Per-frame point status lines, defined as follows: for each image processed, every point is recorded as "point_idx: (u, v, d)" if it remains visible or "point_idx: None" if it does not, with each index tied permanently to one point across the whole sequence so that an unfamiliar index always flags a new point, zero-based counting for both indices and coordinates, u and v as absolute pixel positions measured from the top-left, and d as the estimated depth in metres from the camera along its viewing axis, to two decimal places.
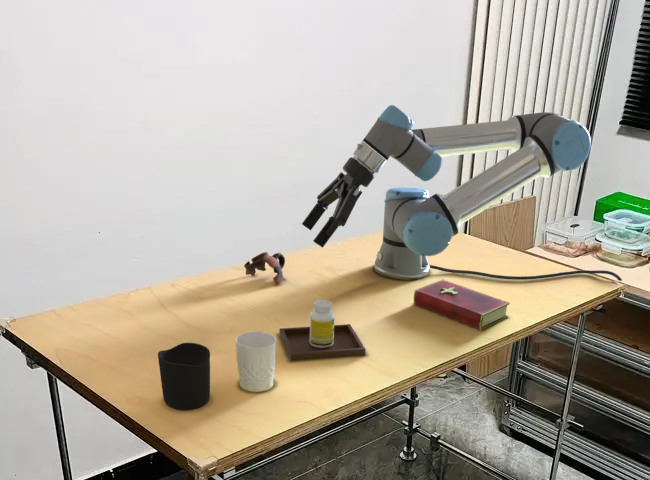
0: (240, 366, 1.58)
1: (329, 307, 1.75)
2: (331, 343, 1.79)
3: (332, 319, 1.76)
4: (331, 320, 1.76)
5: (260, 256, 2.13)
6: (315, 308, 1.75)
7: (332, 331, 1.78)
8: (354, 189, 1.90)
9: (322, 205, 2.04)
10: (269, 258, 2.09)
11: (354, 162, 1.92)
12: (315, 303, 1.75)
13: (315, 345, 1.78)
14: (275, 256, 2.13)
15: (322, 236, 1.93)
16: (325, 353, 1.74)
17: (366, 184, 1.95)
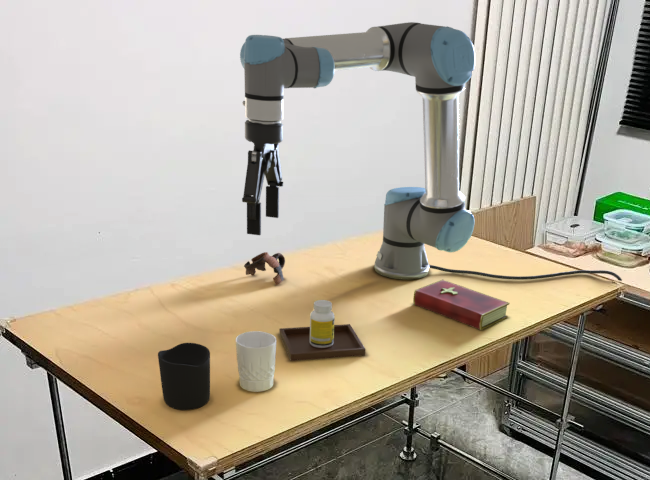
0: (240, 366, 1.58)
1: (329, 307, 1.75)
2: (331, 343, 1.79)
3: (332, 319, 1.76)
4: (331, 320, 1.76)
5: (260, 256, 2.13)
6: (315, 308, 1.75)
7: (332, 331, 1.78)
8: (249, 155, 1.57)
9: (273, 185, 1.73)
10: (269, 258, 2.09)
11: (245, 124, 1.59)
12: (315, 303, 1.75)
13: (315, 345, 1.78)
14: (275, 256, 2.13)
15: (251, 223, 1.63)
16: (325, 353, 1.74)
17: (271, 140, 1.59)
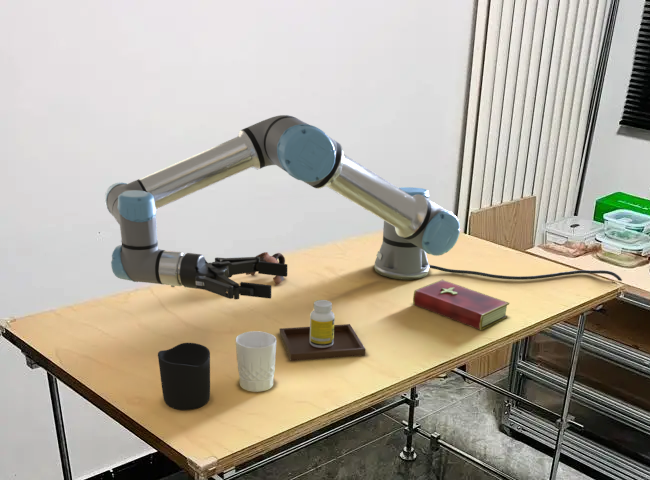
0: (240, 366, 1.58)
1: (329, 307, 1.75)
2: (331, 343, 1.79)
3: (332, 319, 1.76)
4: (331, 320, 1.76)
5: (260, 256, 2.13)
6: (315, 308, 1.75)
7: (332, 331, 1.78)
8: (198, 287, 1.70)
9: (257, 265, 1.81)
10: (269, 258, 2.09)
11: (185, 286, 1.76)
12: (315, 303, 1.75)
13: (315, 345, 1.78)
14: (275, 256, 2.13)
15: (260, 293, 1.69)
16: (325, 353, 1.74)
17: (192, 265, 1.72)
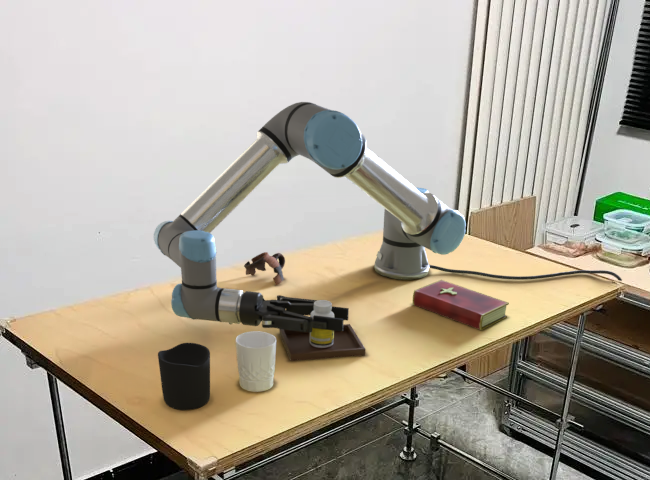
0: (240, 366, 1.58)
1: (329, 307, 1.75)
2: (331, 343, 1.79)
3: None
4: None
5: (260, 256, 2.13)
6: (315, 308, 1.75)
7: (332, 331, 1.78)
8: (266, 326, 1.73)
9: None
10: (269, 258, 2.09)
11: (243, 324, 1.78)
12: (315, 303, 1.75)
13: (315, 345, 1.78)
14: (275, 256, 2.13)
15: (332, 326, 1.74)
16: (325, 353, 1.74)
17: (252, 304, 1.75)
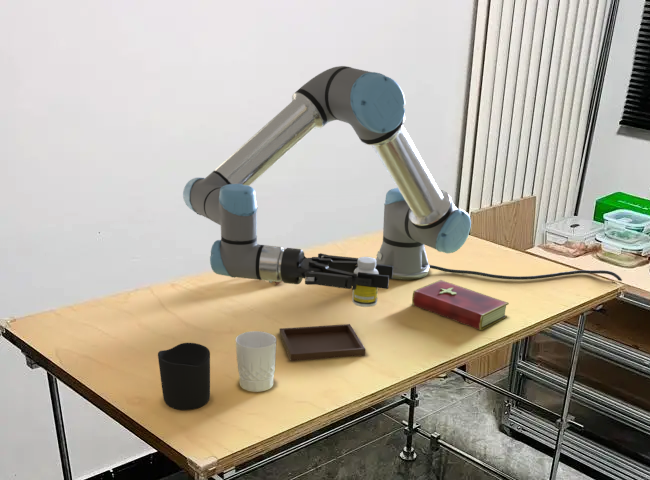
0: (240, 366, 1.58)
1: (374, 264, 1.69)
2: (375, 302, 1.73)
3: None
4: None
5: None
6: (359, 265, 1.69)
7: (376, 289, 1.72)
8: (309, 283, 1.67)
9: None
10: None
11: (284, 282, 1.72)
12: (359, 260, 1.69)
13: (359, 304, 1.72)
14: None
15: (377, 283, 1.68)
16: (325, 353, 1.74)
17: (294, 260, 1.69)
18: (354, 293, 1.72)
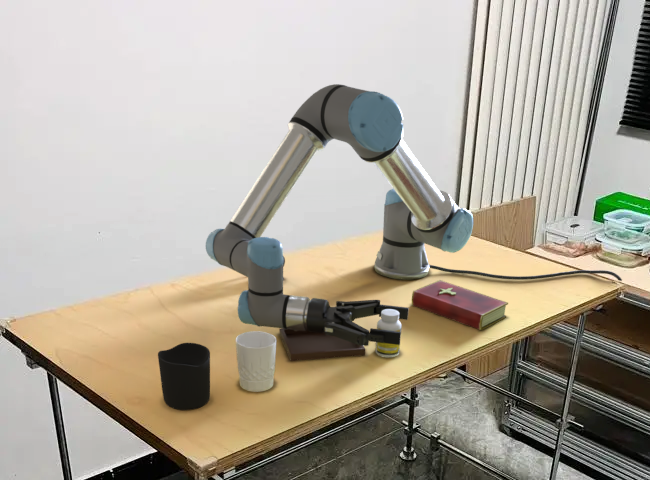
0: (240, 366, 1.58)
1: (397, 316, 1.74)
2: (397, 352, 1.78)
3: (399, 328, 1.75)
4: (398, 329, 1.75)
5: None
6: (383, 317, 1.74)
7: None
8: (327, 333, 1.72)
9: (378, 309, 1.83)
10: None
11: (310, 331, 1.77)
12: (383, 312, 1.74)
13: (382, 355, 1.77)
14: None
15: (389, 339, 1.70)
16: (325, 353, 1.74)
17: (320, 311, 1.74)
18: (377, 344, 1.77)
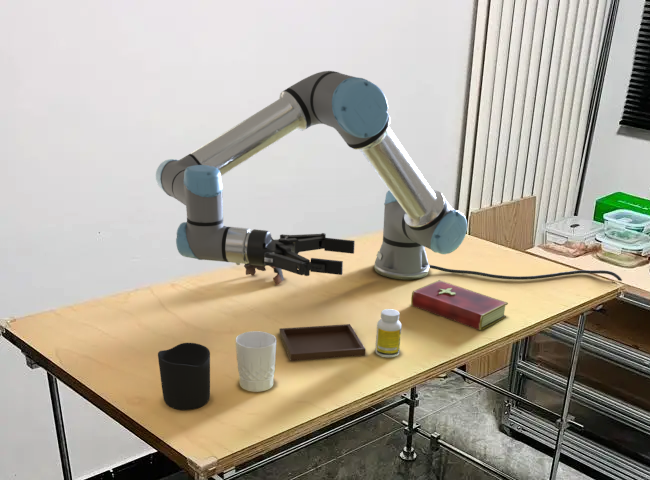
0: (240, 366, 1.58)
1: (397, 316, 1.74)
2: (397, 352, 1.78)
3: (399, 328, 1.75)
4: (398, 329, 1.75)
5: None
6: (383, 317, 1.74)
7: (399, 340, 1.77)
8: (267, 264, 1.66)
9: (323, 242, 1.77)
10: None
11: (251, 264, 1.71)
12: (383, 312, 1.74)
13: (382, 355, 1.77)
14: None
15: (331, 269, 1.64)
16: (325, 353, 1.74)
17: (260, 241, 1.68)
18: (377, 344, 1.77)
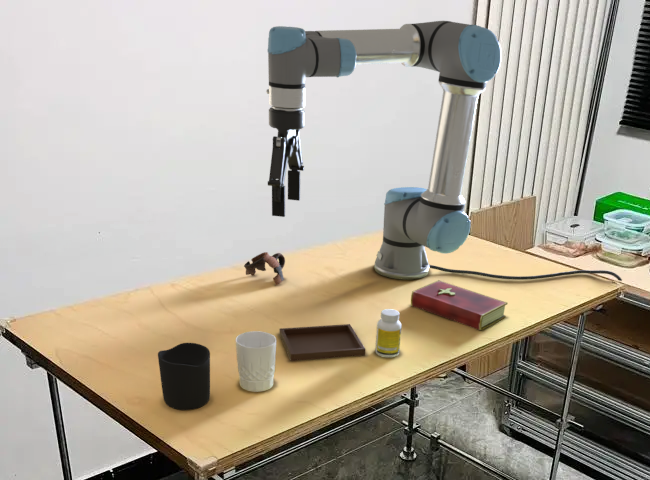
0: (240, 366, 1.58)
1: (397, 316, 1.74)
2: (397, 352, 1.78)
3: (399, 328, 1.75)
4: (398, 329, 1.75)
5: (260, 256, 2.13)
6: (383, 317, 1.74)
7: (399, 340, 1.77)
8: (274, 140, 1.66)
9: (295, 169, 1.82)
10: (269, 258, 2.09)
11: (269, 111, 1.68)
12: (383, 312, 1.74)
13: (382, 355, 1.77)
14: (275, 256, 2.13)
15: (276, 206, 1.72)
16: (325, 353, 1.74)
17: (294, 126, 1.68)
18: (377, 344, 1.77)
